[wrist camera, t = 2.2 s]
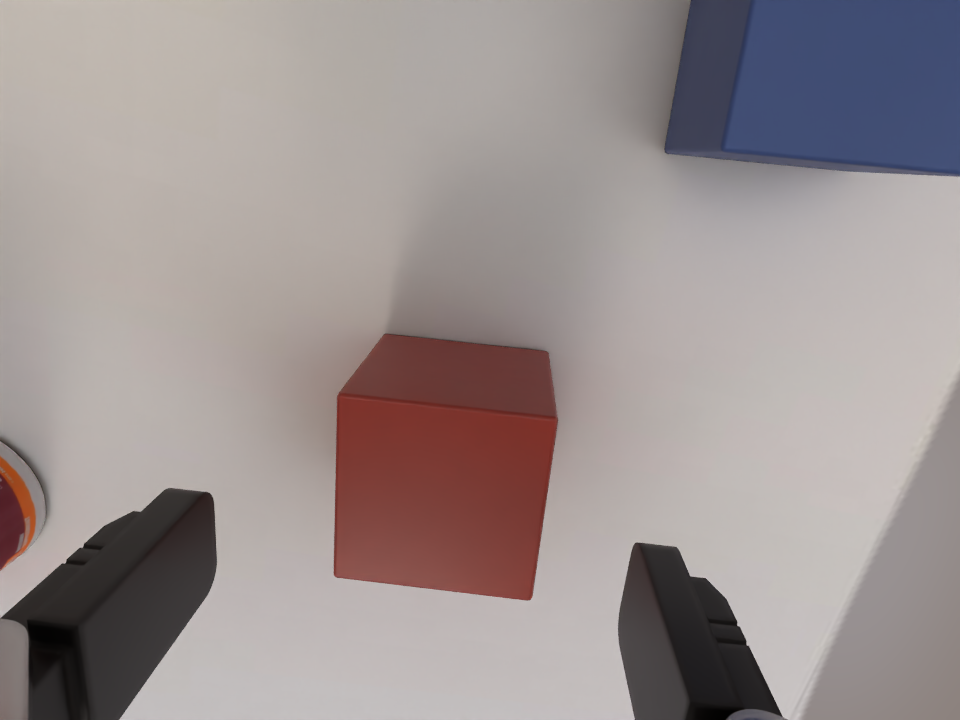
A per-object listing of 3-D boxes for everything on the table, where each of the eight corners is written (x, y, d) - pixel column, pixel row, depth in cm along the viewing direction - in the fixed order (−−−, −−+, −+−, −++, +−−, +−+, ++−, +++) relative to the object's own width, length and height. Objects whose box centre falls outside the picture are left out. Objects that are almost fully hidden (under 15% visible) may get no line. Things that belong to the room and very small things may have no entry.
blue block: (701, -65, 14) (786, -169, 9) (912, -46, 13) (1099, -144, 9) (662, 153, 15) (720, 152, 11) (852, 171, 15) (988, 177, 11)
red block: (383, 332, 17) (336, 393, 13) (549, 350, 17) (559, 418, 12) (377, 479, 18) (332, 578, 14) (529, 496, 18) (531, 602, 14)
